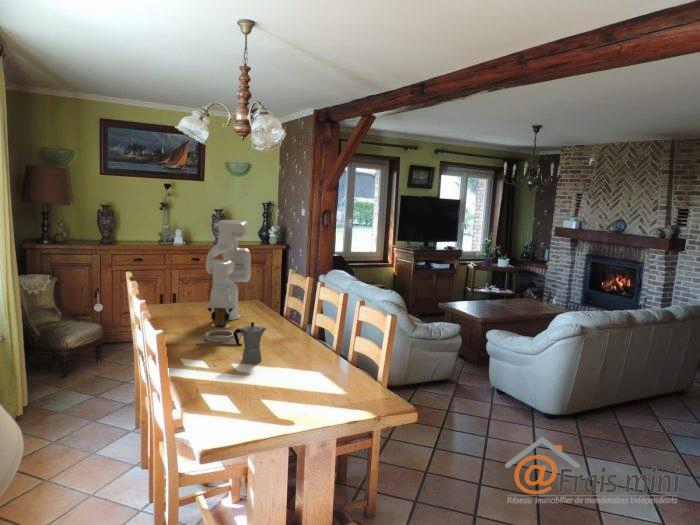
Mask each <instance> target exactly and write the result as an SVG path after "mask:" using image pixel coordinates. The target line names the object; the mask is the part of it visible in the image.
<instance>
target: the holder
mask: <svg viewBox="0 0 700 525" xmlns="http://www.w3.org/2000/svg"><path fill="white" fill-rule="evenodd" d="M233 333H234V331H232V330H229V329H228V330H227V329H215V330H210V331H204V332H203V333H202V334H201V335H200V337H199V338H198V339H197V341H196V342H195V345H196V346H229V347H231V346H233V347H235V346H236V347H238V346H237V344H236V341H235V338H234V335H233ZM237 335H238V340H239V341H240V340H241V338H242V337H243V333H237Z"/></svg>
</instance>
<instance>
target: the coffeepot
mask: <svg viewBox="0 0 700 525" xmlns="http://www.w3.org/2000/svg"><path fill="white" fill-rule="evenodd" d="M266 330H267V328H266V327H264V326H257V325H255V322H254V321H253V322H252V321H251V322H250V325H249V326H245V327H242V328H236V329H235V330H234V331H233V332H234V333H233V335H234V338H235V341H236V344H237V346H236V347H242V346H243V344H244V347H243V352H242V354H243V355H242V358H241V362H243V363H245V364H250V365H251V364H258V363H260V362H261V361H262V354H261V346H260V343H261V339H262V336H263V334H264V332H265V331H266ZM237 333H242V337H243V343H240V340H238V335H237Z"/></svg>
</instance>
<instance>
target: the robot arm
mask: <svg viewBox="0 0 700 525" xmlns="http://www.w3.org/2000/svg"><path fill="white" fill-rule="evenodd" d="M217 229H218V239H217V244H214V246H213V247H211V249H210V250H209V251H208V253H207V257H206V261H205V270H206V272H207V274H212V288H211V291H210V299H209V301H208V302H207V303H206V304H205V305H204V307H205V308H206V310H208V311H209V312H210V313H211V316H210V317H211V318H210V319H211V320H212V322H214V321H215V308H225V309H226V321H227V322H228V321H233V320H238V319H241V314H239V313H238V312H239V288H238V286H237V284H236V283H247V282H249V281H250V279H251V276H252V275H251V269H252V268H251V263H252V257H251V251H250V249H248V248H243V247H239V240H238V238H246V237H247V235H248V232H249V223H248V221H247V220H235V219H221V220H219V221H218V222H217ZM220 255H222V258H223V259H218V258H217V259H216V258H215V257H217V256H220ZM214 258H215V259H214Z"/></svg>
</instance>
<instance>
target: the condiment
mask: <svg viewBox="0 0 700 525" xmlns="http://www.w3.org/2000/svg"><path fill="white" fill-rule="evenodd" d="M214 312H215V320H214V321H213V322H214V323H213V324H211V326H213V327H214V328H216V329H226V328H230V327H232V326H231V325H229V324H227V322H228V321H226V309H225V308H215V310H214Z"/></svg>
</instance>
